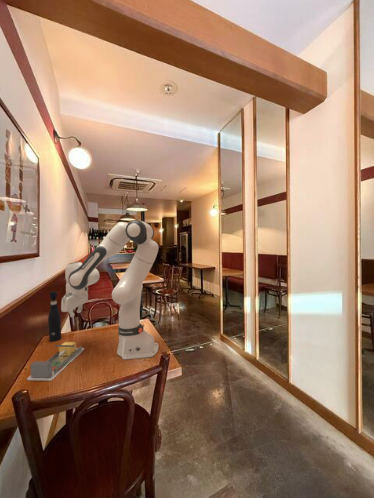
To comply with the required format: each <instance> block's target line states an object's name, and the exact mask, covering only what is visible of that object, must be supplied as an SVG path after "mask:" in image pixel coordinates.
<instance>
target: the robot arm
mask: <svg viewBox="0 0 374 498" xmlns="http://www.w3.org/2000/svg"><path fill="white" fill-rule="evenodd" d="M154 236H155V229H154V228H153V226H152V225H151V224H149V223H147V222H145V221H142V220H139V219H138V220H137V219H136V220H131V221H130V222H128V223H127V222H123V221H119V222H118V223H117V224H115V225H114V226H113V227H112V228H111V229H110V231H108V233H107V234H106V235H105V237H104V238H103V240H102V241H101V242H100V243H99V244H98V245H97V247H95V249H94V250H93V251H92V252H91V253H90V254H89V256H87V258H86V259H85V260H84V261H83V263H82V262H81V261H75V262H70V263H68V264H66V265H65V266H66V267H65V270H64V271H65V274H64V275H65V281H66V282H65V283H66V284H65V294H64V295H63V297H62V298H61V303H60V310H61V312H62V313H68V314H69V318H73V317H75V315H76V314H75V313H74V310H75V309H76V308H77V310H76V313H77V314H80V313H82V310H83V309H82V308H83V305H84V304H85V303H87V302H88V300H89V292H88V291H89V286H91V285H94V284H96V283H98V282H99V280H100V278H101V274H100V271H99V270H98V269H97V267H98V266H99V265H100V263H102V262H103V261H105V260H107V259H110V258H112V257H114V256H116V255H118V254H119V253H120V252H121V251H122V250H123V249H124V248H125V246H126V245H127V243H128V242H130V241H132V242H133V244H134V245H136V246H137V248H136V251H135V253H134V255H133V257H132V259H131V262H129V264H128V267H127V268H126V269H125V271H124V273H123V275H122V276H121V277H120V279H119V281H118V283H116V285H115V287H114V288H113V289H112V292H111V299H112V300H113V302H114V303H116V304H118V305H120V306H119V310H118V327H117V329H118V331H117V334H118V345H117V351H116V355H118V356H119V357H121V359H122V360H134V359H135V360H136V359H144V358H152V357H154V356H155V355H157V352H158V351H159V343H158V342H155V339H154V336H153V335H152V334H150V333H149V332H147V331H146V330H144V327H145V324H144V323H143V324H142V323H141V315H140V311H141V310H140V309H141V308H140V307H141V301H142V294H143V287H144V286H143V282H144V281H145V279H146V278H147V276H148V274H149V272H150V271H151V269H152V267H153V264H154V263H155V261H156V258H157V255H158V253H159V245H158V243H157V242H156V241H154V240H153V238H154Z"/></svg>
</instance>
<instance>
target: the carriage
mask: <svg viewBox="0 0 374 498" xmlns="http://www.w3.org/2000/svg"><path fill="white" fill-rule="evenodd" d="M54 347H57V348H58V352H59V355H58V356H59V357H60V356H70V355H71V354H72V353H73V352H75V351H76V348H77V342H76V341H64V342H63V343H61V344H55V345H54Z"/></svg>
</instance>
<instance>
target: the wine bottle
mask: <svg viewBox="0 0 374 498" xmlns="http://www.w3.org/2000/svg"><path fill="white" fill-rule="evenodd" d="M57 297H58V291H57V290H54V291H50V292H49V299H50V304H49V305H50V306H49V308H50V310H49V313H48V315H47V316H48V317H47V323H48V325H47V326H48V339H49V342H50V343H54V342H57V341H60V340H61V339H62V324H61V314H60V310H59V308H58V302H57Z"/></svg>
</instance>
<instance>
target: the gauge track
mask: <svg viewBox="0 0 374 498" xmlns="http://www.w3.org/2000/svg"><path fill="white" fill-rule="evenodd" d="M84 350H85V348H84V347H82V346H79V347H76V351H75V352H73V353H72V354H71V355H70V356H60V357H59V356H58V355H59V351H58V352H56V353H55V354H54V355H52V356H51V357H49V358H48V360H46V361H45V360H44V361H42V360H41V361H39V360H37V361H36V360H35V361H33V362H31V363H30V365H29V366H30V375H29V376H28V377H27V378H26V380H27V381H43V382H44V381H46V382H47V381H48V382H49V381H53V380H54V379H55V378H57V376H58V375H59V374H60V373H61V372H62V371H63V370H64V369H65V368H67V367H68V366H69V365H70V364H71V363H72V362H73V361H74V360H75V359H76V358H77V357H78V356H79V355H80V354H81V353H83V351H84ZM70 362H71V363H70ZM69 363H70V364H69ZM68 364H69V365H68ZM67 365H68V366H67Z"/></svg>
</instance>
